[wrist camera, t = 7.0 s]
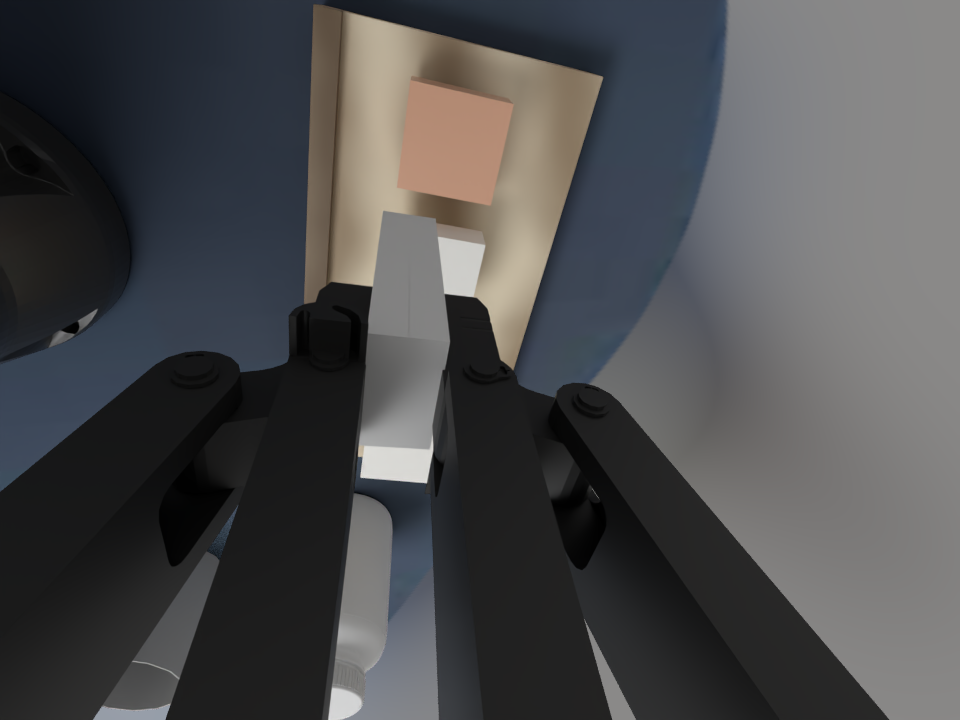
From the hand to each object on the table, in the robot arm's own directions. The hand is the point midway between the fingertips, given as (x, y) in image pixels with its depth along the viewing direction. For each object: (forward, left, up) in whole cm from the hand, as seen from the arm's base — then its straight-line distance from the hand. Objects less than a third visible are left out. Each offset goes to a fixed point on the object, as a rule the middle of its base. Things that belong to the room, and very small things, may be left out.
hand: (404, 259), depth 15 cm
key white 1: (+2, -18, -13) cm, 22 cm away
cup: (-16, -42, -17) cm, 48 cm away
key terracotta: (+2, +1, -14) cm, 14 cm away
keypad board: (+2, -9, -16) cm, 19 cm away
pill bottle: (-1, -33, -17) cm, 37 cm away
